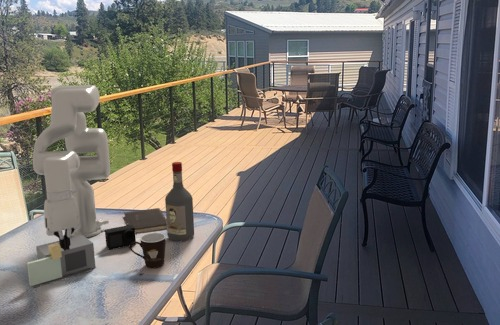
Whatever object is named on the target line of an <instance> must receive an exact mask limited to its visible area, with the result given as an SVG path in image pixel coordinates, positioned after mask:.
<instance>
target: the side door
mask: <svg viewBox="0 0 500 325" xmlns="http://www.w3.org/2000/svg"><path fill="white" fill-rule="evenodd" d="M48 250H49V257H47V258H43V259H39V260H38V259H35V260H32V261H28V262H26V266H27V274H28V282H29V286H30V287H33V285H37V284H40V283H43V282H47V281H50V280H54V279H57V278H61V277H62V270H61V261H60V258H61V257H62V255H61V246H60V245H59V244H58V243H55V244H51V245H48Z"/></svg>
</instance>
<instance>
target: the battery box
mask: <svg viewBox="0 0 500 325" xmlns="http://www.w3.org/2000/svg"><path fill="white" fill-rule="evenodd" d="M55 243H58V244H59V245H60V243H59V240H57V241H53V242H48V243H45V244H40V245H36V246H35V250H36V256H37V260H39V259H43V258H47V257H49V250H48V245H51V244H55ZM70 244H71V245H70V246H69V247H70V249H69V250H65V251H64V250H63V249H62V248H61V255H62V257H61V258H60V261H61V270H62V277H61V278H57V279H54V280H50V281H47V282H43V283H40V284H37V285H33V286H32V287H33V288H38V287H42V286H45V285H49V284H52V283H56V282H58V281H59V282H60V281H62V279H63V280H66V279H68V278H73V277H76V276H79V275H83V274H85V273H89V272H92V271H93V270H92V269H96V260H95V259H96V258H95V248H94V247H95V246H94V242H93V241H91V240H90V239H89V238H88V237H84V236H83V235H80V236H76V237H70ZM72 276H73V277H72ZM65 278H66V279H65Z"/></svg>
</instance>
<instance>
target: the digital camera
mask: <svg viewBox="0 0 500 325" xmlns="http://www.w3.org/2000/svg"><path fill="white" fill-rule="evenodd" d="M104 234H105V247H106V248H107V249H108V251H111V250H116V249H123V248H127V247H130V245H131V243H133V242H137V240H136V233H135V228H134V227H133V226H132V225H128V224H127V225H124V226H123V225H122V226H117V227H110V228H106V229H104ZM136 245H137V244H133V245H132V246H136Z"/></svg>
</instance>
